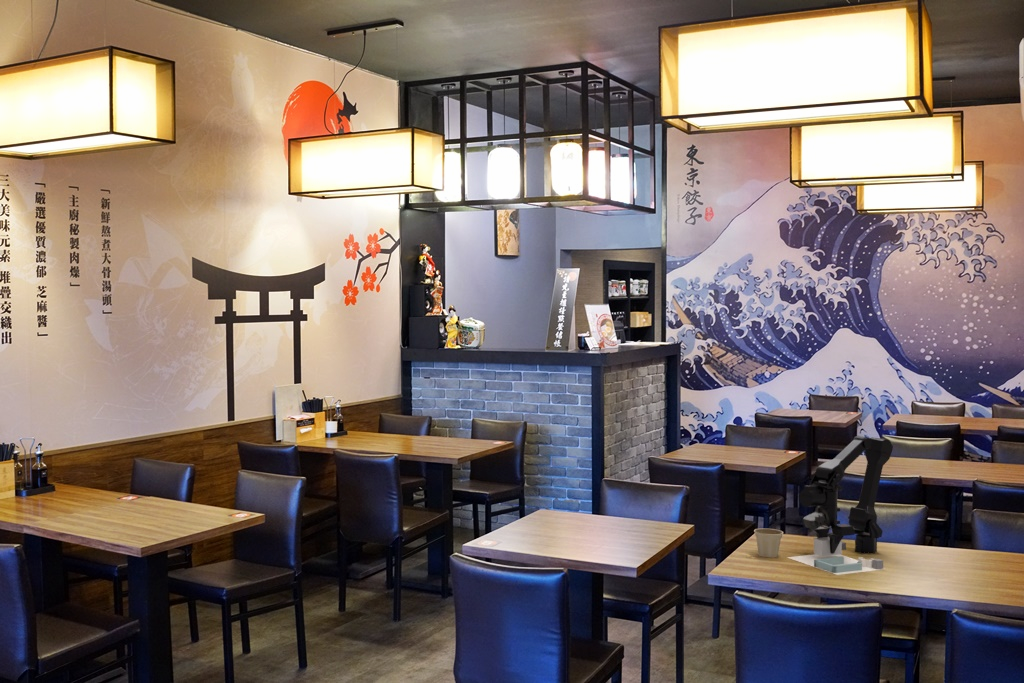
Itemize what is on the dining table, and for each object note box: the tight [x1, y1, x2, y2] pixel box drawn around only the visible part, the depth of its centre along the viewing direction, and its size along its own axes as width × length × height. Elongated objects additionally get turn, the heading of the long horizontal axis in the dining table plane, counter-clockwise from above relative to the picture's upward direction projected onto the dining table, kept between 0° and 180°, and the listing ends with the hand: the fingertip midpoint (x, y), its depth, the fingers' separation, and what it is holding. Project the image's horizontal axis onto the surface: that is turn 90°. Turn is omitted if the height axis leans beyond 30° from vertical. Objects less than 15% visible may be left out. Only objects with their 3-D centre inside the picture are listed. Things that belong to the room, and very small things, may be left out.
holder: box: [814, 557, 862, 574], centre depth 291 cm, size 9×11×2 cm
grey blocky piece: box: [857, 558, 884, 570], centre depth 292 cm, size 5×6×3 cm
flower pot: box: [753, 528, 784, 558], centre depth 308 cm, size 9×9×9 cm
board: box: [786, 553, 885, 576], centre depth 297 cm, size 19×24×1 cm
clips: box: [857, 557, 874, 568], centre depth 294 cm, size 5×5×2 cm
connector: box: [813, 536, 847, 556], centre depth 305 cm, size 4×11×5 cm, turn 112°
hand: (827, 551), depth 304 cm, fingers closed on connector, 4 cm apart
